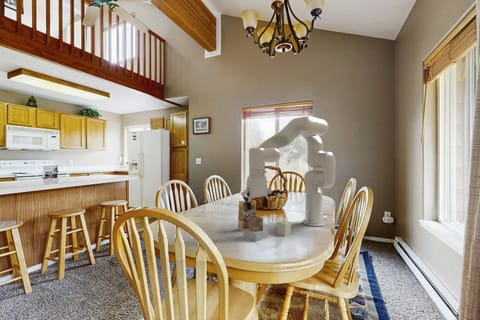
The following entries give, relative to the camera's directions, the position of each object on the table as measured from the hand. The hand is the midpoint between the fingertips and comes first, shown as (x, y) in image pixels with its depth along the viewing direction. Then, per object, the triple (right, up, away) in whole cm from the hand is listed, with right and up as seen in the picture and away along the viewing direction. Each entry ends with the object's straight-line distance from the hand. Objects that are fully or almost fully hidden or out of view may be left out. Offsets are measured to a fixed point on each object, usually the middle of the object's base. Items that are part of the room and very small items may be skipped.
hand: (257, 208), depth 112 cm
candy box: (-5, -14, +12) cm, 19 cm away
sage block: (+14, -14, +6) cm, 21 cm away
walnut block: (-1, -10, 0) cm, 10 cm away
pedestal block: (-1, -14, 0) cm, 14 cm away
